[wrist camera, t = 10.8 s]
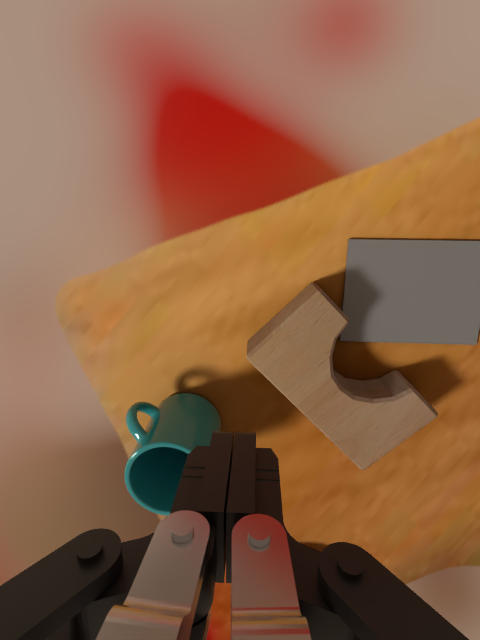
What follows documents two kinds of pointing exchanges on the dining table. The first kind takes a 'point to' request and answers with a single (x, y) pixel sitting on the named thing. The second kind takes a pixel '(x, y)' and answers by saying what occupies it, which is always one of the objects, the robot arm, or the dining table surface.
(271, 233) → the dining table surface
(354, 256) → the mat
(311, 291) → the decorative block
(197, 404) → the cup
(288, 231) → the dining table surface
